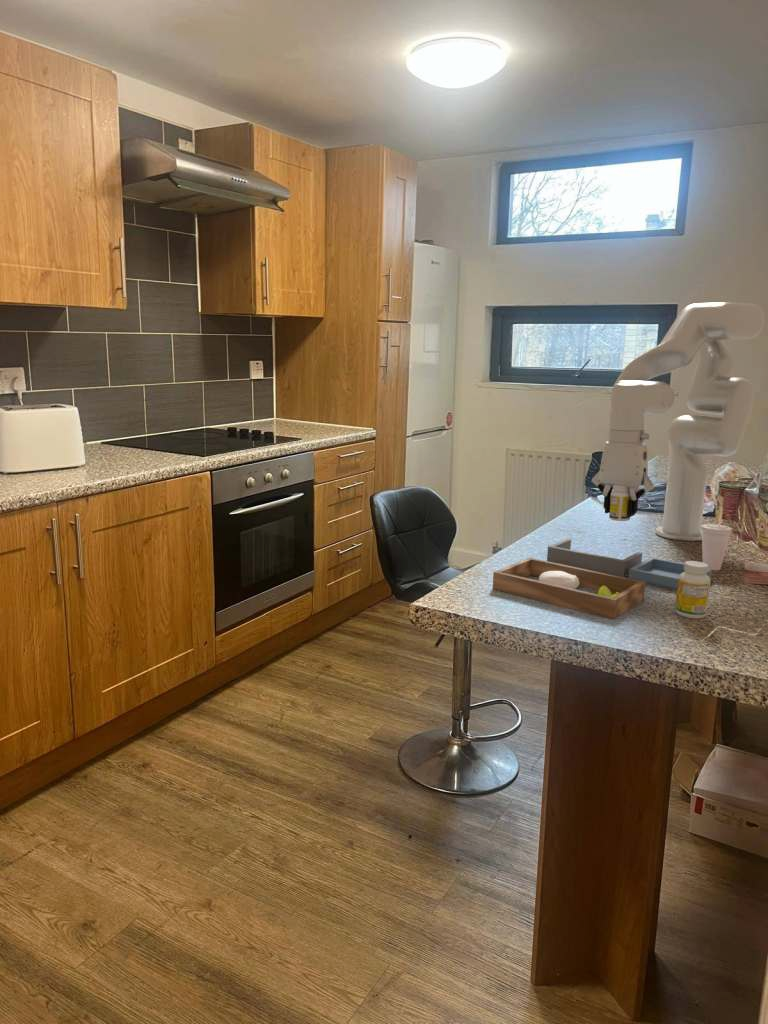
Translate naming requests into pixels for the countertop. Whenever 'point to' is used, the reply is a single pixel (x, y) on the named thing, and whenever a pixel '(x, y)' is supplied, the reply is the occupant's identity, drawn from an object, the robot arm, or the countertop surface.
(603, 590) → the plate of lemons
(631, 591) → the wooden rectangular frame
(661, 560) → the tray
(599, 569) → the bay
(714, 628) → the countertop surface
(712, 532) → the smoothie
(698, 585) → the supplement bottle
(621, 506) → the supplement bottle
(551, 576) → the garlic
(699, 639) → the countertop surface
